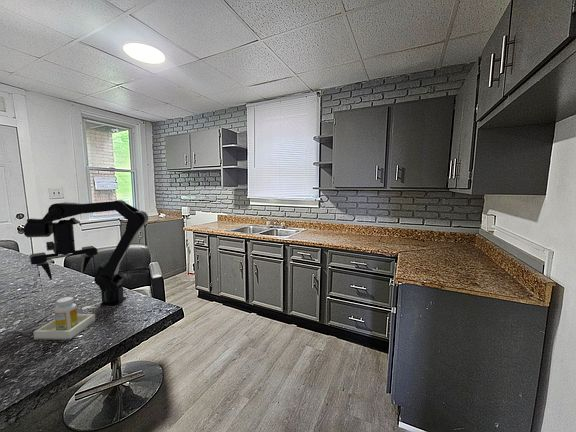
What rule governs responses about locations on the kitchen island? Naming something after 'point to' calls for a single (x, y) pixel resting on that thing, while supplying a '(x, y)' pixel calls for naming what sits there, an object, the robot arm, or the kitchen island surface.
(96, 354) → the kitchen island surface
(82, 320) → the tray
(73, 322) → the supplement bottle
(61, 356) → the kitchen island surface
